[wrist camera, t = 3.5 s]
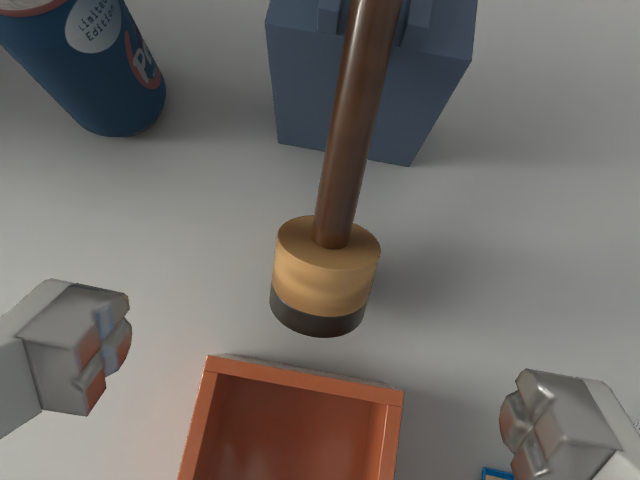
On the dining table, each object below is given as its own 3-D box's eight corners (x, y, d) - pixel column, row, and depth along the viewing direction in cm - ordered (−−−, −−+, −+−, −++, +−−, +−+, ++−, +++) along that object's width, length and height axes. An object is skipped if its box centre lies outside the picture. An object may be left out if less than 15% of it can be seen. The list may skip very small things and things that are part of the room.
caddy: (359, 568, 25) (375, 630, 19) (183, 535, 25) (150, 588, 19) (384, 382, 27) (404, 391, 22) (225, 353, 27) (206, 354, 22)
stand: (408, 167, 31) (485, 38, 18) (278, 143, 31) (261, -3, 18) (415, 120, 32) (492, -34, 19) (288, 97, 32) (279, -72, 19)
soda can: (189, 109, 32) (124, -28, 20) (111, 162, 30) (-7, 48, 19) (137, 48, 33) (47, -115, 21) (59, 97, 32) (-82, -49, 20)
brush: (354, 346, 28) (414, 342, 13) (265, 330, 28) (226, 307, 13) (385, 143, 32) (458, -36, 17) (308, 128, 32) (313, -63, 17)
